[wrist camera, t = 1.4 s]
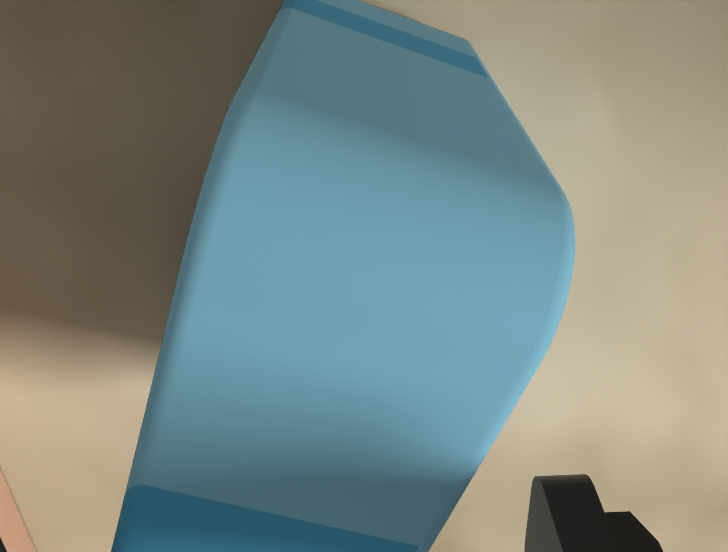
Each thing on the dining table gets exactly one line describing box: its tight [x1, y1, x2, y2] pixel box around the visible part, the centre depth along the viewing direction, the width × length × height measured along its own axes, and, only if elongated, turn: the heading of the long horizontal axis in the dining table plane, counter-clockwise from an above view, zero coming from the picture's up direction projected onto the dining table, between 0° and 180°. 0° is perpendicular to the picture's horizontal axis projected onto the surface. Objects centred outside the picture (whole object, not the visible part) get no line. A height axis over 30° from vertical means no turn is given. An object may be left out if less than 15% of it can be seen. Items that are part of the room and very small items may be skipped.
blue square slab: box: [111, 0, 575, 552], centre depth 15 cm, size 12×4×12 cm, turn 161°
